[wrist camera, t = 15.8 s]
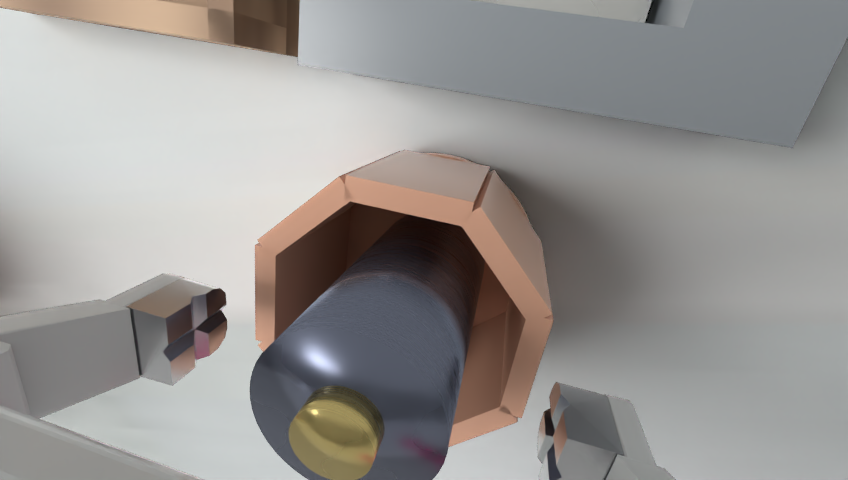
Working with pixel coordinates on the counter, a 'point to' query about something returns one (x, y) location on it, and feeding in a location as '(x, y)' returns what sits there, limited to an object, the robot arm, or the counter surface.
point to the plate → (588, 7)
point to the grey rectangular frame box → (599, 57)
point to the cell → (375, 360)
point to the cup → (437, 200)
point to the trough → (187, 19)
